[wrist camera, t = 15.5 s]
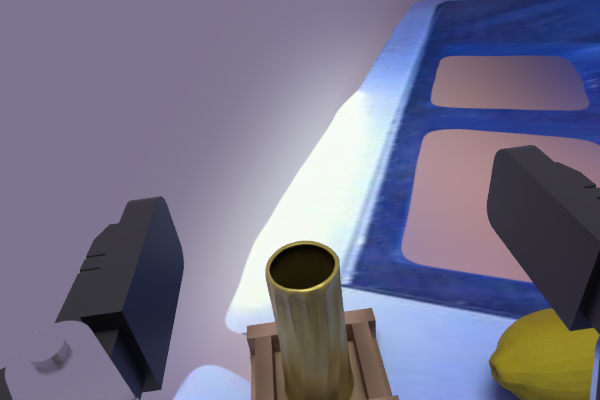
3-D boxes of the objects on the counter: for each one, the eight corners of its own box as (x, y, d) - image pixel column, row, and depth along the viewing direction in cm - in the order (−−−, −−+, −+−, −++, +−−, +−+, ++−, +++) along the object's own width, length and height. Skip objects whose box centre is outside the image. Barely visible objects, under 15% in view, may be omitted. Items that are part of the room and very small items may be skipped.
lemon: (587, 345, 40) (612, 282, 35) (641, 430, 34) (682, 367, 29) (466, 353, 41) (476, 293, 36) (497, 438, 34) (514, 378, 30)
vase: (277, 410, 37) (247, 292, 29) (294, 349, 42) (272, 233, 34) (349, 422, 35) (338, 301, 27) (358, 358, 40) (351, 238, 32)
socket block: (370, 325, 44) (370, 302, 42) (404, 446, 34) (406, 423, 32) (253, 342, 44) (247, 319, 42) (253, 469, 34) (245, 447, 32)
